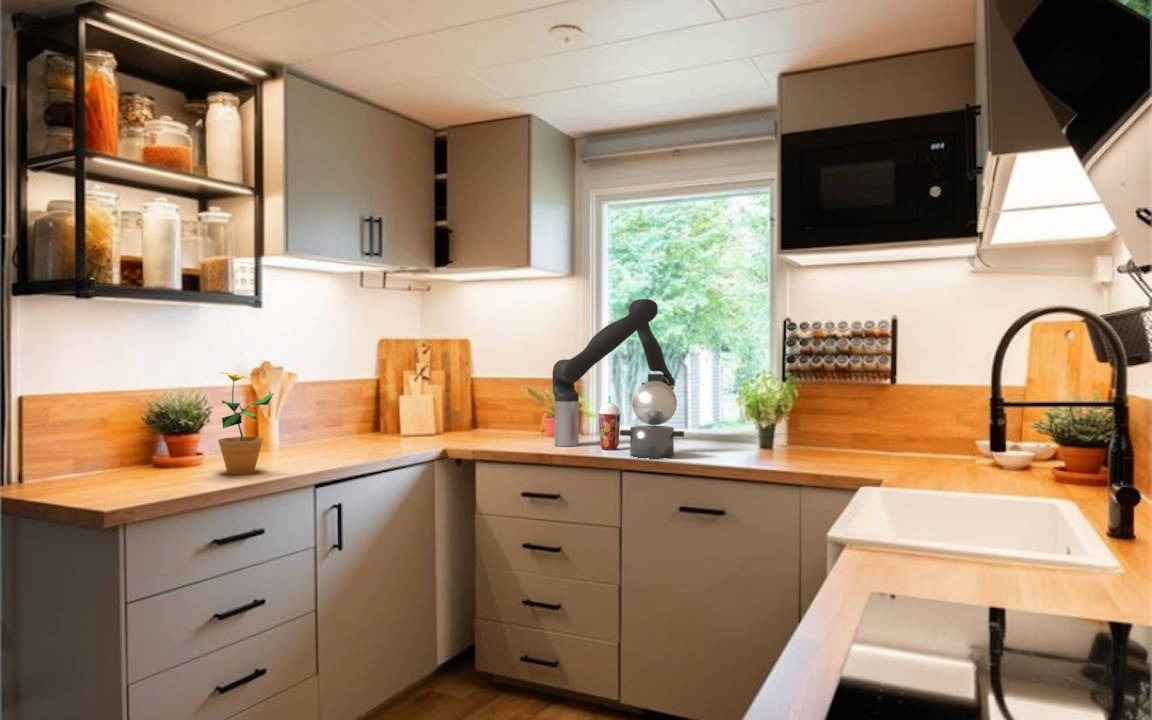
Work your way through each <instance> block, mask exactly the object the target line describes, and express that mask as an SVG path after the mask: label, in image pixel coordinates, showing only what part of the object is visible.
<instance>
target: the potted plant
mask: <svg viewBox="0 0 1152 720" xmlns="http://www.w3.org/2000/svg"><path fill="white" fill-rule="evenodd" d="M221 374H223V375H226V376H227V377H228V378H229V379H230V380H232V382H233V383H232V390H231V399H232V401H231V402H230V401H227V400H224V399H222V400H221V404H225V405H227V406H228V407H229V408H230V410H231V411H233V414H231V415H227V416H224V417H222V418H221V419H222V429H225V428H229V427H233V426H236V425H238V429H239V434H240V436H234V437H233V436H232V437H224V438H218V439H217V441H218V445H219V448H220V452H221V454H222V459H223V461H224V466H225V469H226V473H227V474H228V475H247V474H249V475H250V474H253V473H255V470H256V467H257V462H258V460H259V455H260V452H261V448H262V444H263V441H264V437H259V436H244V435H243V431H242V428H241V424H242V423H243V421H242V419H243V416H244V415H246V416H248V417H250V418H252V419H255V420H256V421H258V418H257V416H256V415H255V414H254V413H252V412H250V411H248V410H247V409H248V408H249V407H250V406H251V405H259V406H268V405H269V403H270V401H271V400H272V397H273V395H274V392H272V393H270V394H268V395H266V396H265V397H263V398H261V399H259V400H257V401H254V402H253V403H252V402H251V403H250V404H249V405H247V406H246V407H245V408H242V407H241V403H239V402H238V403H237V402H234V387H235V382H236V381H239V380H242V379H245V380H246V379H248V380H250V378H249V377H245V376H243V375H238V374H233V373H227V372H221ZM238 407H239V409H240V412H236V411H237V410H238ZM243 414H244V415H243Z"/></svg>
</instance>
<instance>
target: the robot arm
mask: <svg viewBox="0 0 1152 720" xmlns="http://www.w3.org/2000/svg"><path fill="white" fill-rule="evenodd" d="M658 312H659V306H658V303H656V301H655V300H653V299H649V298H644V299H643V298H642V299H641V298H639V299H635V300H632V302H630V304H629V307H628V314H627V315H625V316H623V317H622V318H620V319H617V320H615V321H614V322H612V323H610V324H608V325H606V326H605V327H603V328H602V329H601V330H599V331H598V332H597V333H595V335H594V336H593V337H591V339H590V340H589V342H588V343H587V345H586V347H584V349H583V350H582V351H581V352H579V353H578V354H576V355H575V356H573V357H572V358H570V359H560V360H558V361H556V363H555V364H554V365H553V368H552V392H553V395H554V447H556V446H557V447H578V446H579V439H580V438H579V435H580V434H579V431H580V430H579V429H580V428H579V427H580V426H579V425H580V424H579V423H580V421H579V420H580V419H579V418H580V417H579V415H580V414H579V410H580V409H579V403H580V401H579V400H580V397H579V395H580V394H579V393H578V392H577V390H576V388H575V383H576V382H578V381H579V380H580V379H581V378H582V377H583V376H584V375H585V374H586V373H588V371H589V370H590V369H592V368H593V366H595V365H596V364H597V363H599V362H600V361H601V360H602V359H604V358H605V357H606V356H607V355H609V354H610V353H612V352H613V351H614V350H616V349H617V348H618V347H619V346H620V345H622V343H624V342H625V341H626V340H627V339H628V338H629V337H631V336H632V335H633V334H634V333H635V332H636V333H637V335H638V338H639V341H640V342H641V346H642V348H643V352H644V355H645V358H646V362H647V366H648V369H649V371H651V372H660V373H661V374H662V382H663V383H665V384H667V385H668V386H669V387H670V388H671V389H672V390H673V391H674V390H675V386H676V382H675V381H676V380H675V378H674V377H673V375H672V373H671V372H670V371H669V369H668V366H667V365H666V362H665V357H664V352H663V350H662V348H661V346H660V344H659V342H658V340H657V338H656V337H655V336H654V334H653V332H652V329H651V327H650V324H649V323H650V322H652V321H653V320H655V318H656V316H657V315H658ZM644 383H645V382H641V385H643V384H644Z"/></svg>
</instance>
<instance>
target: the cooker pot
mask: <svg viewBox="0 0 1152 720" xmlns="http://www.w3.org/2000/svg"><path fill="white" fill-rule="evenodd" d="M619 436H627V437H629V436H630V438H629V440H630V442H629V444H630V446H629V447H630V448H629V449H630V452H629V453H630V455H631V456H633V457H638V458H637V459H639V458H649V459H648V460H660V459H659V458H669V459H672V458H671V457H673V456H674V455H675V453H674V452H675V447H674V446H675V444H674V443H675V441H674V439H675V438H674V437H678V438H681V437H682V438H684V437H685V431H684V430H675V429H674V427H673V426H670V425H669V426H667V425H635V426H630V428H629V429H621V430H620V429H619ZM631 456H630V457H631ZM633 457H632V458H633ZM673 458H674V457H673Z"/></svg>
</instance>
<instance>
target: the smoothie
mask: <svg viewBox="0 0 1152 720" xmlns="http://www.w3.org/2000/svg"><path fill="white" fill-rule="evenodd" d="M597 413H598V414H597V416H598V431H599V446H600V448H601V450H602V449H603V451H617V450H618V447H619V443H620V441H619V440H620V425H621V415H622V413H621V411H620V409H619V407H618V406H617V405H616V404H614V403H613V402H611V395H608V403H604V404H603V405H602V406H601V407H600V408H599V411H598V412H597Z"/></svg>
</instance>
